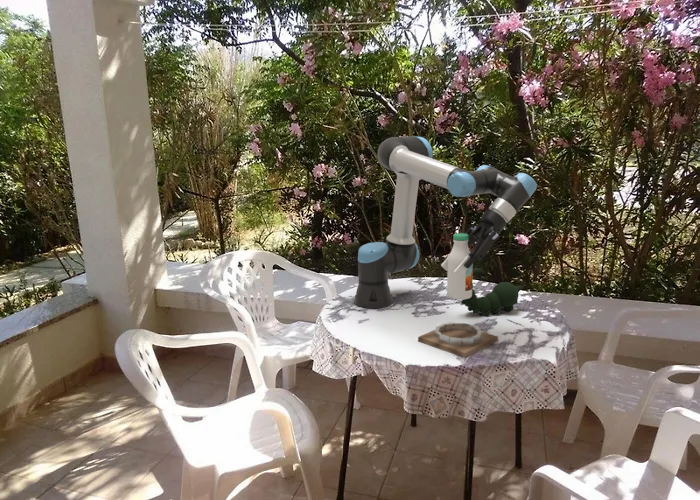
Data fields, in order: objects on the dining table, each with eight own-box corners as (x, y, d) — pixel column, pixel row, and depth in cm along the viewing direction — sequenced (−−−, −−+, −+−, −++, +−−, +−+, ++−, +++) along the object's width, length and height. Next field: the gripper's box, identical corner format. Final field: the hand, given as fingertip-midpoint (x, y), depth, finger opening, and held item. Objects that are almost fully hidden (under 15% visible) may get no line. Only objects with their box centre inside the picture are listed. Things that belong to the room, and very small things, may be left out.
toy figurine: (470, 324, 187) (531, 311, 193) (467, 274, 182) (530, 261, 188) (458, 316, 196) (516, 303, 202) (455, 267, 191) (515, 256, 197)
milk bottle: (457, 301, 160) (459, 237, 155) (442, 295, 167) (443, 233, 162) (477, 297, 163) (479, 234, 159) (461, 291, 170) (462, 230, 166)
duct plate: (418, 341, 169) (418, 336, 169) (451, 326, 181) (451, 322, 180) (464, 357, 156) (464, 352, 156) (497, 340, 168) (497, 336, 168)
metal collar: (426, 336, 168) (426, 330, 168) (453, 325, 178) (453, 319, 178) (463, 349, 158) (463, 343, 158) (489, 336, 168) (490, 330, 167)
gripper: (524, 229, 155) (475, 287, 154) (486, 219, 174) (442, 270, 173) (510, 212, 152) (459, 271, 151) (473, 204, 171) (427, 256, 170)
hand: (450, 271), depth 162 cm, fingers closed on milk bottle, 8 cm apart
